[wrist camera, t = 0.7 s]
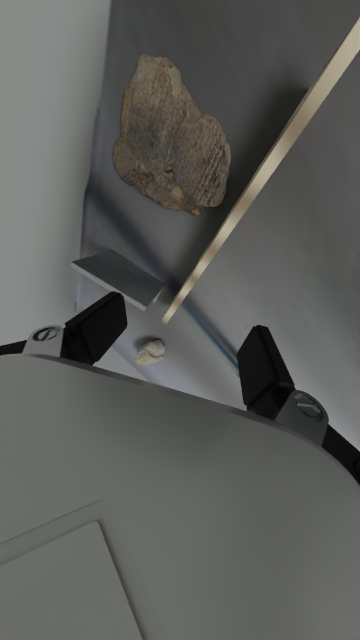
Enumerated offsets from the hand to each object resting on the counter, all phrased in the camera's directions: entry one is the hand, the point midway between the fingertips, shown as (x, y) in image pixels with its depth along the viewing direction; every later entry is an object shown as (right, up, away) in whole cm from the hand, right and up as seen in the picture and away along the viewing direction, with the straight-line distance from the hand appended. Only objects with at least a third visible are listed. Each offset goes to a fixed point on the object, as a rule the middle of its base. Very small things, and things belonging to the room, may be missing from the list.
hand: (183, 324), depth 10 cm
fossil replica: (-10, -10, +45) cm, 47 cm away
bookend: (-13, +12, +29) cm, 34 cm away
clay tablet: (0, +28, +15) cm, 32 cm away
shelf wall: (+7, +18, +20) cm, 28 cm away
